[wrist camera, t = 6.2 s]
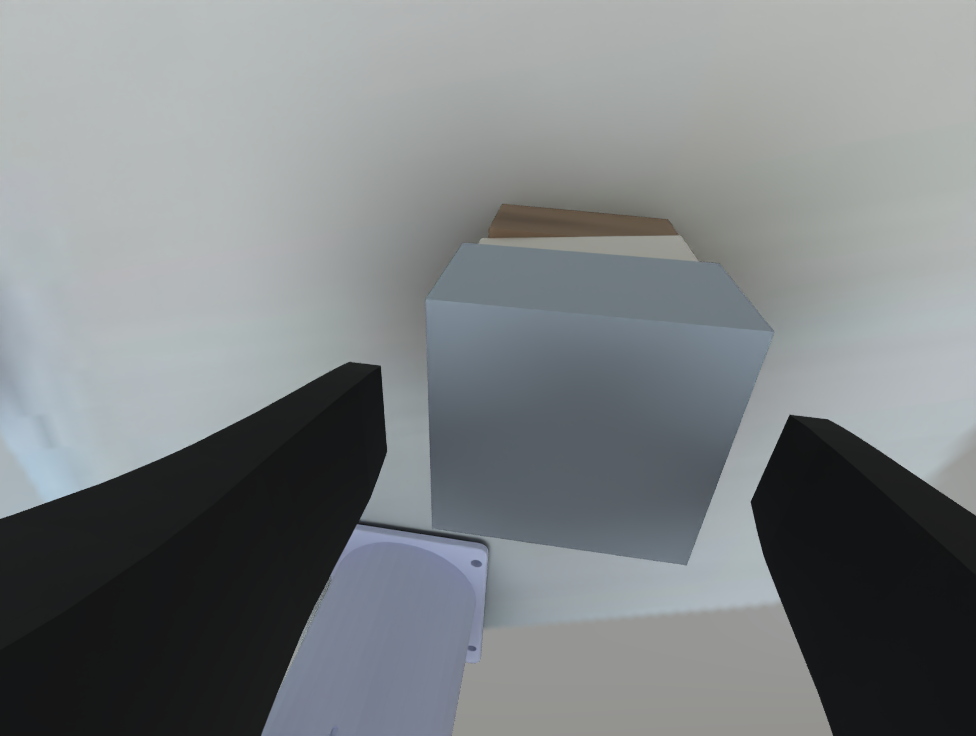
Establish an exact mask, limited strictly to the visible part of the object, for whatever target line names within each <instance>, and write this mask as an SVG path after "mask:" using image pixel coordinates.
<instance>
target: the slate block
mask: <svg viewBox="0 0 976 736" xmlns="http://www.w3.org/2000/svg"><path fill="white" fill-rule="evenodd" d="M425 302H426V335H427V369H428V402H429V436H430V469H431V503H432V529H439V530H446V531H453V532H460V533H466V534H473V535H480V536H487V537H494V538H501V539H508V540H515V541H522V542H529V543H536V544H543V545H550V546H556V547H563V548H570V549H577V550H584V551H591V552H598V553H605V554H612V555H619V556H626V557H633V558H640V559H647V560H653V561H660V562H667V563H674V564H681V565H687V563H688V560H689V558H690V555H691V552H692V550H693V547H694V544H695V542H696V539H697V536H698V534H699V531H700V528H701V526H702V523H703V520H704V518H705V515H706V512H707V510H708V507H709V505H710V502H711V499H712V497H713V494H714V491H715V489H716V486H717V483H718V481H719V478H720V475H721V473H722V470H723V467H724V465H725V462H726V459H727V457H728V454H729V451H730V449H731V446H732V443H733V441H734V438H735V435H736V433H737V430H738V427H739V425H740V422H741V419H742V417H743V414H744V411H745V409H746V406H747V403H748V401H749V398H750V395H751V393H752V390H753V387H754V385H755V382H756V379H757V377H758V374H759V371H760V369H761V366H762V363H763V361H764V358H765V355H766V353H767V350H768V347H769V345H770V342H771V339H772V337H773V334H774V331H773V330H772V328H771V327H770V326H769V325H768V323H767V322H766V321H765V320H764V318H763V317H762V316H761V315H760V313H759V312H758V311H757V310H756V308H755V307H754V306H753V305H752V303H751V302H750V301H749V300H748V299H747V297H746V296H745V295H744V294H743V292H742V291H741V290H740V289H739V287H738V286H737V285H736V284H735V282H734V281H733V280H732V279H731V277H730V276H729V275H728V274H727V272H726V271H725V270H724V269H723V267H722V266H721V265H720V264H719V263H710V262H698V261H685V260H673V259H660V258H648V257H636V256H623V255H611V254H598V253H586V252H574V251H561V250H549V249H537V248H524V247H512V246H499V245H487V244H475V243H462V245H461V246H460V248H459V249H458V251H457V252H456V254H455V255H454V257H453V258H452V260H451V261H450V263H449V264H448V266H447V267H446V269H445V270H444V272H443V273H442V275H441V276H440V278H439V280H438V281H437V283H436V284H435V286H434V287H433V289H432V290H431V292H430V293H429V295H428V296H427V298H426V299H425Z"/></svg>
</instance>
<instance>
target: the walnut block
mask: <svg viewBox="0 0 976 736" xmlns="http://www.w3.org/2000/svg"><path fill="white" fill-rule="evenodd" d="M673 235H678V233H677V232H676V230H675V229H674V228H673V226H672V225H671V223H670V222H669V220H668V219H658V218H647V217H636V216H626V215H615V214H604V213H594V212H583V211H573V210H562V209H551V208H541V207H530V206H519V205H509V204H502V206H501V207H500V209H499V211H498V213H497V215H496V216H495V218H494V220H493V222H492V224H491V225H490V227H489V238H531V237H601V236H673Z"/></svg>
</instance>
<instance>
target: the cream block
mask: <svg viewBox="0 0 976 736" xmlns="http://www.w3.org/2000/svg"><path fill="white" fill-rule="evenodd" d="M478 244H487V245H499V246H512V247H524V248H537V249H549V250H561V251H574V252H586V253H598V254H611V255H623V256H636V257H648V258H660V259H673V260H685V261H698V260H697V258H696V257H695V255H694V254H693V253H692V251H691V250H690V248H689V247H688V245H687V244H686V243H685V241H684V240H683V238H682V237H681V235H673V236H601V237H531V238H481V239H480V241H479V243H478ZM698 262H699V261H698Z"/></svg>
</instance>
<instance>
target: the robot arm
mask: <svg viewBox="0 0 976 736" xmlns="http://www.w3.org/2000/svg"><path fill="white" fill-rule="evenodd" d="M386 453H387V444H386V431H385V417H384V404H383V390H382V377H381V366H378V365H370V364H361V363H353V362H348V363H346V364H344V365H342V366H340V367H338V368H336V369H334V370H332V371H330V372H328V373H326V374H324V375H323V376H321V377H319V378H317V379H315V380H314V381H312V382H310V383H308V384H306V385H305V386H303V387H301V388H299V389H298V390H296V391H294V392H292V393H290V394H289V395H287V396H285V397H283V398H281V399H279V400H278V401H276V402H274V403H272V404H270V405H269V406H267V407H265V408H263V409H261V410H260V411H258V412H256V413H254V414H252V415H250V416H248V417H246V418H244V419H242V420H240V421H238V422H236V423H234V424H232V425H230V426H228V427H226V428H224V429H222V430H220V431H218V432H216V433H214V434H212V435H211V436H209V437H207V438H205V439H203V440H201V441H199V442H197V443H195V444H192V445H190V446H188V447H186V448H184V449H182V450H180V451H177V452H175V453H173V454H171V455H168V456H166V457H164V458H162V459H159V460H157V461H155V462H152V463H150V464H148V465H145V466H143V467H140V468H138V469H135V470H133V471H131V472H128V473H126V474H123V475H121V476H119V477H116V478H114V479H111V480H108V481H106V482H103V483H101V484H98V485H95V486H93V487H90V488H87V489H84V490H81V491H79V492H76V493H73V494H70V495H67V496H64V497H62V498H59V499H56V500H53V501H50V502H48V503H45V504H42V505H39V506H36V507H34V508H31V509H28V510H25V511H23V512H20V513H17V514H14V515H11V516H8V517H5V518H2V519H0V736H452V731H453V725H454V719H455V714H456V709H457V704H458V699H459V693H460V688H461V682H462V677H463V671H464V666H465V662H467V663H477V662H479V661H480V657H481V648H482V634H483V621H484V607H485V594H486V580H487V566H488V553H489V552H488V549H487V547H486V546H484V545H483V544H480V543H476V542H469V541H463V540H456V539H450V538H443V537H437V536H430V535H424V534H417V533H411V532H404V531H398V530H391V529H385V528H379V527H372V526H366V525H359V524H357V523H358V521H359V519H360V517H361V516H362V514H363V512H364V510H365V508H366V506H367V504H368V502H369V500H370V498H371V495H372V492H373V490H374V487H375V484H376V482H377V479H378V476H379V473H380V470H381V468H382V465H383V462H384V459H385V456H386ZM751 505H752V510H753V514H754V519H755V523H756V528H757V532H758V536H759V540H760V544H761V547H762V551H763V555H764V558H765V561H766V563H767V566H768V569H769V571H770V574H771V576H772V579H773V582H774V584H775V587H776V589H777V592H778V594H779V597H780V599H781V602H782V604H783V607H784V609H785V612H786V614H787V617H788V619H789V622H790V624H791V627H792V629H793V632H794V634H795V637H796V639H797V642H798V644H799V646H800V649H801V652H802V654H803V656H804V659H805V661H806V664H807V667H808V669H809V671H810V674H811V677H812V679H813V681H814V684H815V686H816V689H817V691H818V694H819V697H820V699H821V702H822V705H823V708H824V711H825V713H826V716H827V719H828V722H829V725H830V727H831V731H832V733H833V736H976V516H975V515H974V514H972V513H971V512H969V511H968V510H966V509H965V508H963V507H962V506H960V505H959V504H957V503H956V502H954V501H953V500H951V499H950V498H948V497H947V496H945V495H944V494H942V493H941V492H939V491H938V490H936V489H935V488H933V487H932V486H930V485H929V484H928V483H926V482H925V481H923V480H922V479H920V478H919V477H917V476H916V475H914V474H913V473H911V472H910V471H908V470H907V469H905V468H904V467H902V466H901V465H899V464H898V463H897V462H895V461H894V460H892V459H891V458H889V457H888V456H886V455H885V454H883V453H882V452H880V451H879V450H877V449H876V448H874V447H873V446H871V445H870V444H868V443H866V442H865V441H863V440H862V439H860V438H859V437H857V436H856V435H854V434H852V433H851V432H849V431H848V430H846V429H844V428H843V427H841V426H839V425H837V424H835V423H834V422H832V421H830V420H828V419H820V418H812V417H804V416H795V415H789V417H788V420H787V422H786V424H785V426H784V429H783V431H782V433H781V435H780V438H779V440H778V442H777V444H776V446H775V449H774V451H773V453H772V455H771V458H770V460H769V462H768V464H767V467H766V469H765V471H764V473H763V475H762V478H761V480H760V482H759V484H758V487H757V489H756V491H755V493H754V496H753V498H752V500H751ZM329 577H331V583H330V585H329V588H328V590H327V592H326V594H325V596H324V598H323V600H322V602H321V604H320V606H319V608H318V610H317V612H316V615H315V617H314V619H313V621H312V623H311V625H310V627H309V629H308V631H307V633H306V635H305V637H304V639H303V642H302V644H301V646H300V648H299V650H298V652H297V654H296V656H295V658H294V660H293V662H292V664H291V667H290V669H289V671H288V673H287V675H286V677H285V679H284V681H283V683H282V680H283V678H284V676H285V673H286V671H287V668H288V666H289V663H290V661H291V658H292V656H293V653H294V651H295V648H296V646H297V644H298V641H299V639H300V636H301V634H302V632H303V629H304V627H305V625H306V623H307V621H308V619H309V617H310V615H311V612H312V610H313V608H314V606H315V604H316V602H317V600H318V598H319V596H320V595H321V593H322V591H323V589H324V587H325V585H326V583H327V581H328V579H329ZM281 683H282V685H281ZM280 685H281V688H280ZM279 688H280V689H279ZM278 690H279V691H278ZM277 693H278V694H277ZM276 695H277V696H276Z"/></svg>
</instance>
